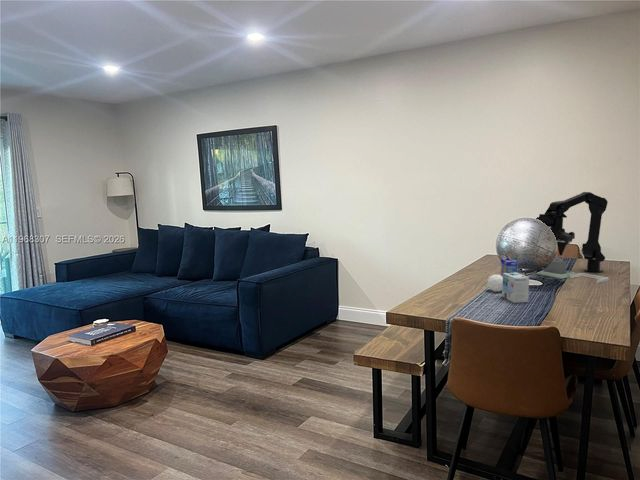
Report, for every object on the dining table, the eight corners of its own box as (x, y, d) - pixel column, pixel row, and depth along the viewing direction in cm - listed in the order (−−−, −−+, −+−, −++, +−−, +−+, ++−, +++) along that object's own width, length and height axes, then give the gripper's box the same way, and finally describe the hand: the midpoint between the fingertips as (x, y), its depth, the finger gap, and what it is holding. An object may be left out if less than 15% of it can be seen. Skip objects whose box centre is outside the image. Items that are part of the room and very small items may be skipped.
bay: (581, 275, 240) (581, 272, 240) (609, 280, 228) (609, 277, 228) (570, 278, 236) (570, 275, 235) (597, 283, 223) (597, 280, 223)
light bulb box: (501, 296, 204) (502, 272, 203) (516, 295, 205) (516, 271, 203) (513, 303, 194) (514, 277, 192) (529, 302, 194) (529, 277, 193)
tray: (548, 271, 253) (548, 267, 253) (574, 276, 240) (574, 272, 239) (535, 273, 248) (535, 269, 247) (561, 278, 235) (561, 274, 234)
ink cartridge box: (499, 281, 231) (500, 253, 229) (511, 281, 231) (512, 253, 229) (505, 286, 222) (506, 256, 220) (517, 286, 221) (518, 256, 219)
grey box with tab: (549, 271, 249) (550, 255, 247) (565, 274, 241) (566, 258, 240) (543, 273, 246) (544, 256, 245) (559, 276, 238) (560, 259, 237)
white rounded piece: (491, 280, 220) (517, 286, 213) (485, 292, 216) (511, 299, 209) (490, 269, 215) (517, 275, 208) (483, 281, 211) (510, 288, 204)
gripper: (559, 229, 229) (557, 260, 231) (582, 226, 237) (581, 256, 240) (539, 227, 239) (538, 257, 241) (562, 224, 247) (561, 253, 249)
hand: (555, 256), depth 242 cm, fingers open, 9 cm apart
